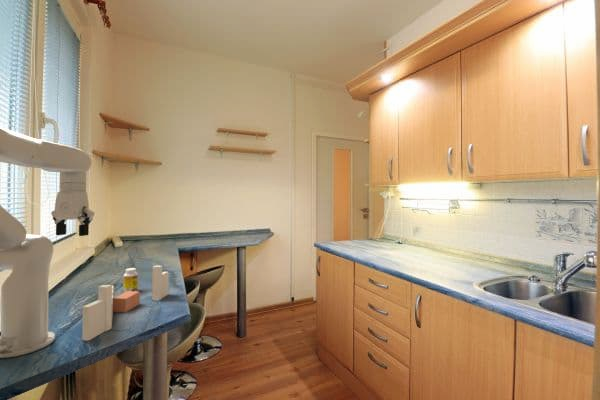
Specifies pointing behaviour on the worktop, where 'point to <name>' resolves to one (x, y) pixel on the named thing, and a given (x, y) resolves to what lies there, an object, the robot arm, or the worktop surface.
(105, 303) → the wall frame
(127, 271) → the supplement bottle
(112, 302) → the gate door
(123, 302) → the salmon orange block
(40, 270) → the robot arm
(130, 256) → the worktop surface
